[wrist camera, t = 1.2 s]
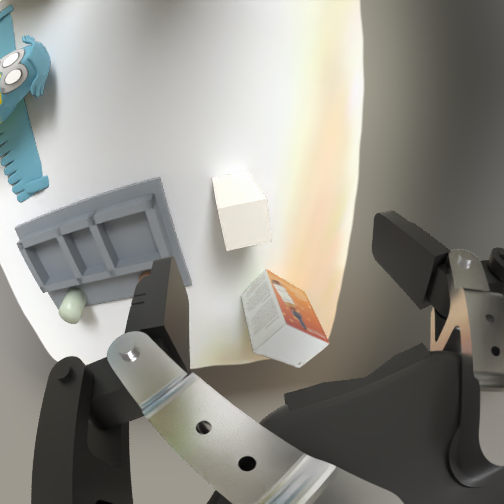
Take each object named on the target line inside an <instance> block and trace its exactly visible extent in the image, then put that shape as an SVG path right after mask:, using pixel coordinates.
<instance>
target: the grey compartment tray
mask: <svg viewBox="0 0 504 504" xmlns="http://www.w3.org/2000/svg"><path fill="white" fill-rule="evenodd" d="M15 230H16V232H17V235H18V237H19V239H20V240H19V241H18V242H17V246H18V248H19V250H20V252H21V254H22V256H23V258H24V260H25V262H26V264H27V265H28V267H29V269H30V271H31V273H32V275H33V276H34V278H35V280H36V282H37V283H38V285H39V287H40V289H41V290H42V292H43V293H45V292H48V293H49V295H50V297H51V298H52V300H53V302H54V303H55V305H56V306H57V308H58V309H59V315H60V316H61V318H62V319H63V320H64V321H66V322H68V323H71V324H76V323H78V322H79V320H80V317H81V314H82V312H83V309H84V307H85V306H88V305H94V304H99V303H104V302H110V301H115V300H120V299H125V298H130V297H134V296H133V295H134V292H135V288H136V285H137V284H138V283H139V281H140V280H141V279H142V277H143V276H147V275H150V273H151V269H152V264H153V261H154V260H158V259H162V258H167V257H171V256H173V257H174V258H175V260H176V263H177V266H178V269H179V272H180V275H181V277H182V280H183V283H184V286H189V285H192V282H191V279H190V276H189V273H188V270H187V267H186V264H185V261H184V257H183V254H182V251H181V248H180V245H179V242H178V238H177V235H176V232H175V229H174V225H173V222H172V218H171V215H170V212H169V208H168V205H167V201H166V197H165V194H164V190H163V186H162V183H161V179H160V177H157V178H153V179H150V180H146V181H142V182H139V183H135V184H132V185H128V186H125V187H122V188H118V189H115V190H112V191H109V192H106V193H103V194H100V195H96V196H93V197H91V198H88V199H85V200H82V201H79V202H76V203H73V204H71V205H68V206H65V207H63V208H60V209H57V210H55V211H52V212H50V213H47V214H44V215H42V216H40V217H37V218H35V219H32V220H30V221H28V222H25V223H23V224H21V225H18V226H16V227H15Z"/></svg>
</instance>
